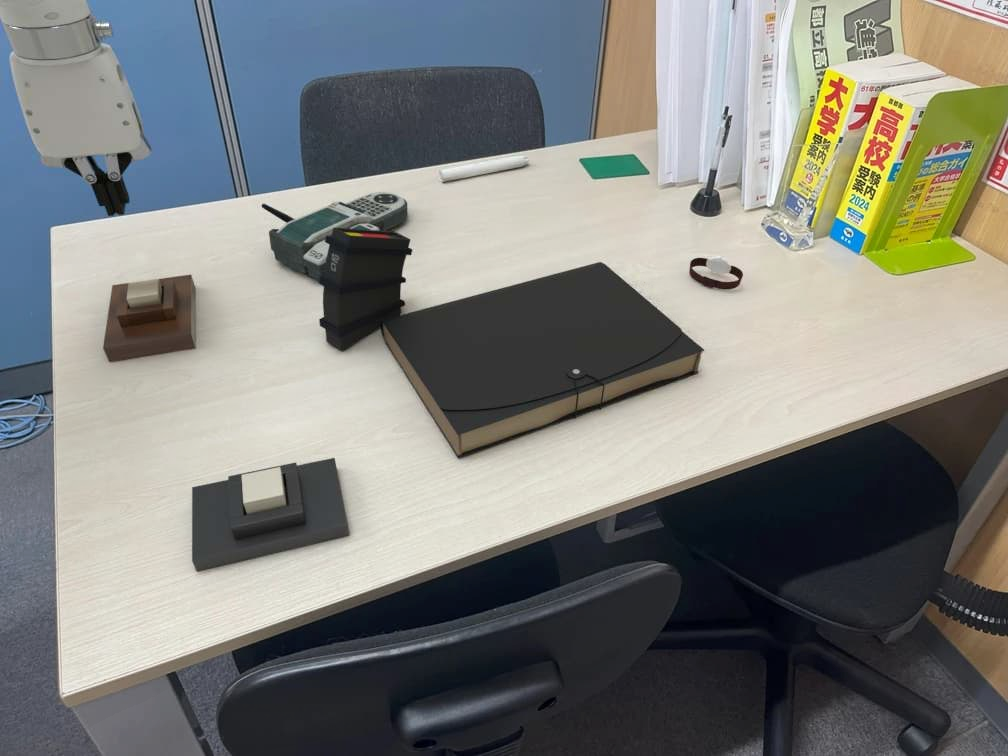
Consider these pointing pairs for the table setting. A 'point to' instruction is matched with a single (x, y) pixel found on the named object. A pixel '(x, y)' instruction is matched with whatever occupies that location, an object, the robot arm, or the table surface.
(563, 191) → the table surface
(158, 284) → the beige switch key
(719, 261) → the watch
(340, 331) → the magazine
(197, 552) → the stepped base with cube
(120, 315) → the brown switch frame
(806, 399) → the table surface
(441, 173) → the marker
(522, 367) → the file folder
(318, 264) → the communication device
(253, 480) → the near key
